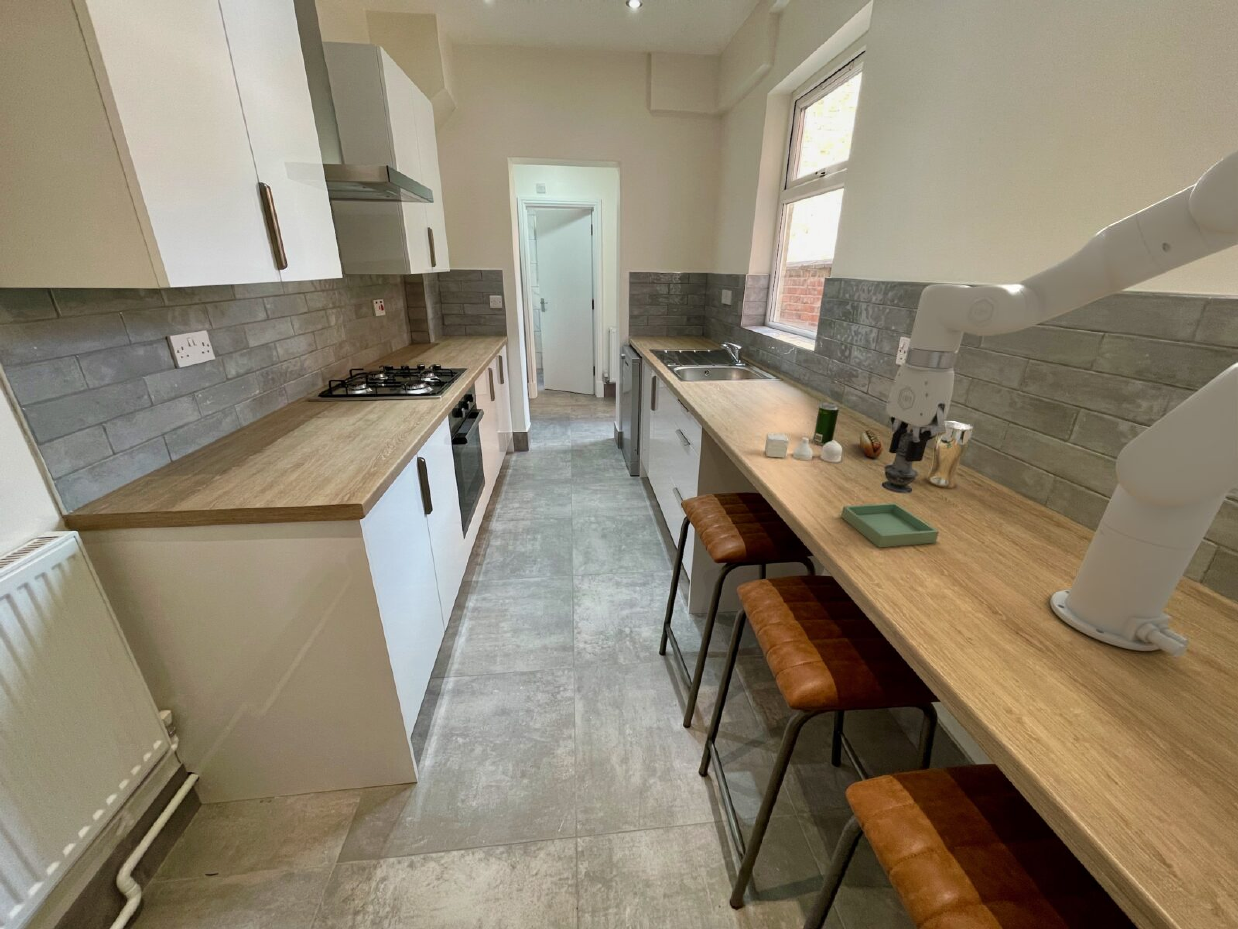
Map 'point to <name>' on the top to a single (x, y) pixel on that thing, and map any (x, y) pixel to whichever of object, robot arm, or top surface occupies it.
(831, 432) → the beer can
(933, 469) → the beer glass
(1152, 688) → the top surface
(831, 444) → the container set
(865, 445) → the hot dog
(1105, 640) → the robot arm
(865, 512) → the serving tray
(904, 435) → the salt shaker
